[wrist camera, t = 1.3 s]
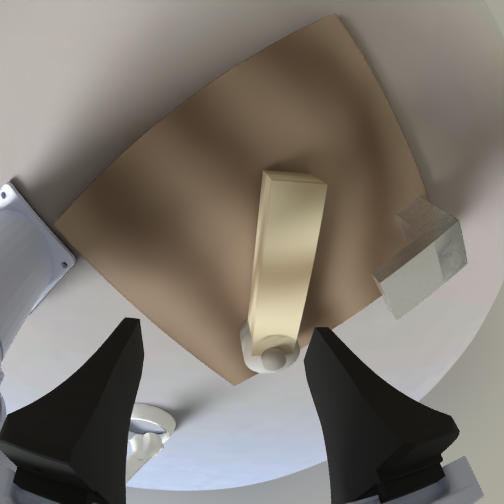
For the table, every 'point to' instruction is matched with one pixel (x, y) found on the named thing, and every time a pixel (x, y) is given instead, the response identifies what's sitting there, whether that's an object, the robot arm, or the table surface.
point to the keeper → (421, 257)
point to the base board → (252, 194)
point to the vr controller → (147, 437)
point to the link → (281, 268)
